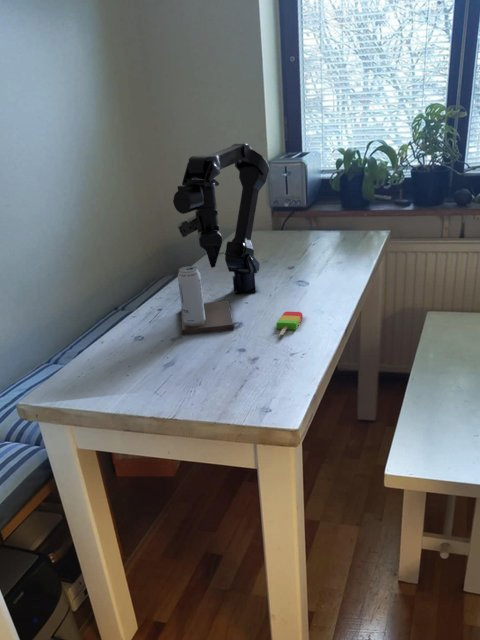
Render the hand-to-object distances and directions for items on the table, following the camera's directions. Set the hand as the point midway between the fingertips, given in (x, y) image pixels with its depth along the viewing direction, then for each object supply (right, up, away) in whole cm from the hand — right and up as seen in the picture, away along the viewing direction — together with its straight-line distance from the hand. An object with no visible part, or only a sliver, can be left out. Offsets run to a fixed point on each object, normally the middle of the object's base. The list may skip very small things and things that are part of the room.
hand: (212, 262), depth 175 cm
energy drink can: (-4, -19, -8) cm, 21 cm away
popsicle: (+21, -21, -11) cm, 32 cm away
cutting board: (-1, -17, -2) cm, 17 cm away
